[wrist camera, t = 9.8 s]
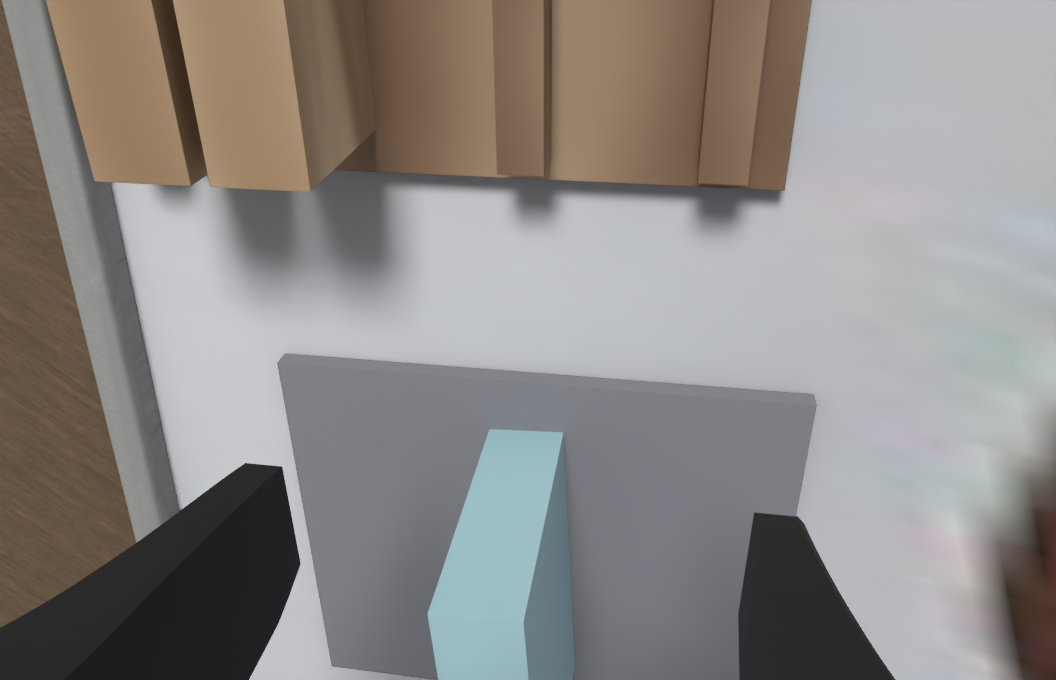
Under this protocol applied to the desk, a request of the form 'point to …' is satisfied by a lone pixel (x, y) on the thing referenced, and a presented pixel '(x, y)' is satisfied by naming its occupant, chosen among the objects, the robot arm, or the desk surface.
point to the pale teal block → (508, 568)
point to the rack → (585, 89)
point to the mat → (592, 503)
